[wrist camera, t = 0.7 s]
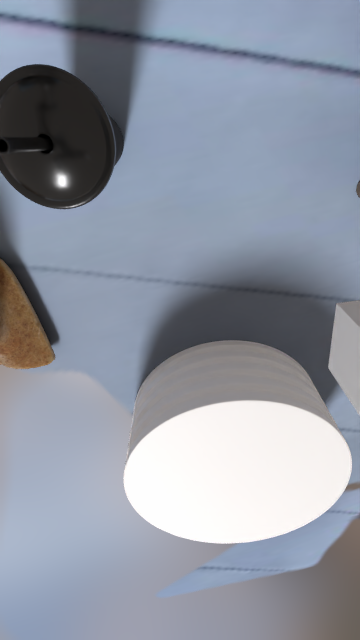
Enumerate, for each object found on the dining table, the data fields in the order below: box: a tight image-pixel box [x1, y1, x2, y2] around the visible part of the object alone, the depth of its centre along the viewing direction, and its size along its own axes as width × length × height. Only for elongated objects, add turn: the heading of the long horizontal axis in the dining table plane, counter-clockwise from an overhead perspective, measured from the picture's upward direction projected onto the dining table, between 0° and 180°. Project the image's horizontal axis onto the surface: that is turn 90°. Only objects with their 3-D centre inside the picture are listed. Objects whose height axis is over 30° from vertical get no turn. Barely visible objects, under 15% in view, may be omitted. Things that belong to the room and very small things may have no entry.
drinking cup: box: [0, 64, 123, 209], centre depth 23 cm, size 8×8×20 cm
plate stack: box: [124, 340, 352, 543], centre depth 45 cm, size 28×28×12 cm
